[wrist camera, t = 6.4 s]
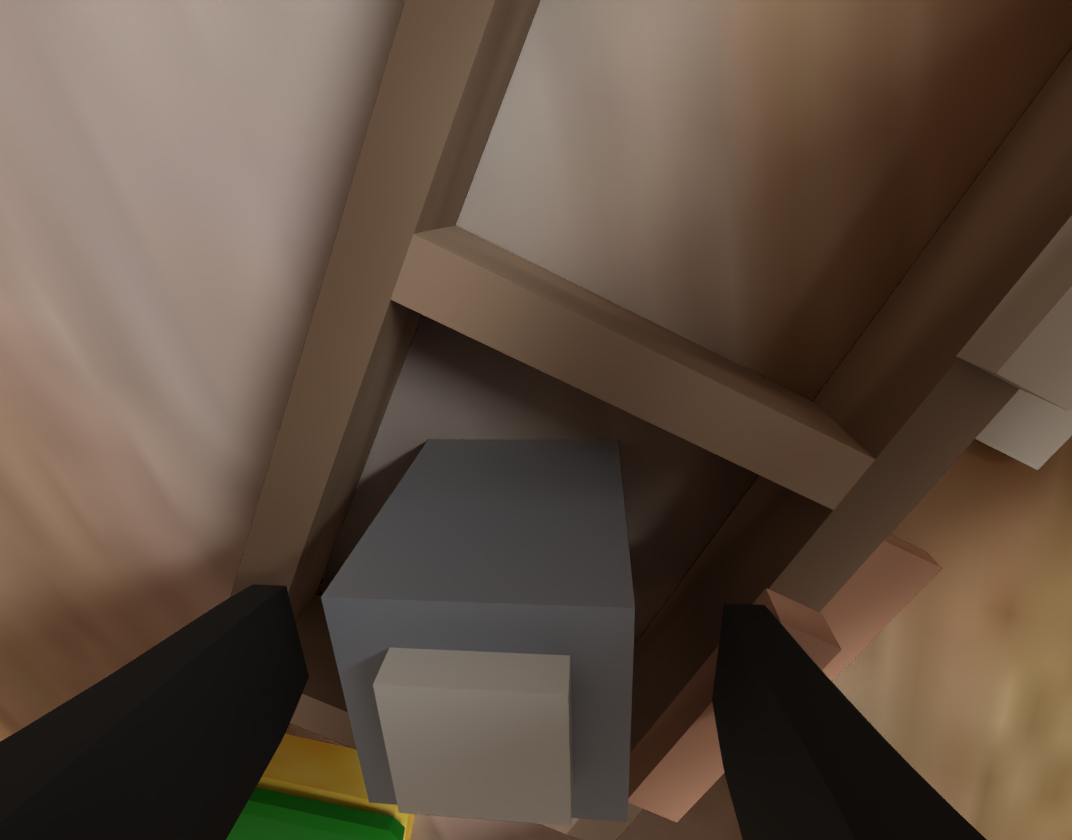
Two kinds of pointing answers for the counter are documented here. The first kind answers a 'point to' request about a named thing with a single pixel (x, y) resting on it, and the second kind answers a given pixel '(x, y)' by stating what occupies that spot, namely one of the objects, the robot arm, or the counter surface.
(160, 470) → the counter surface
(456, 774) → the plug
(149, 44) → the counter surface
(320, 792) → the dish sponge
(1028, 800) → the counter surface
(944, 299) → the wooden divided tray
